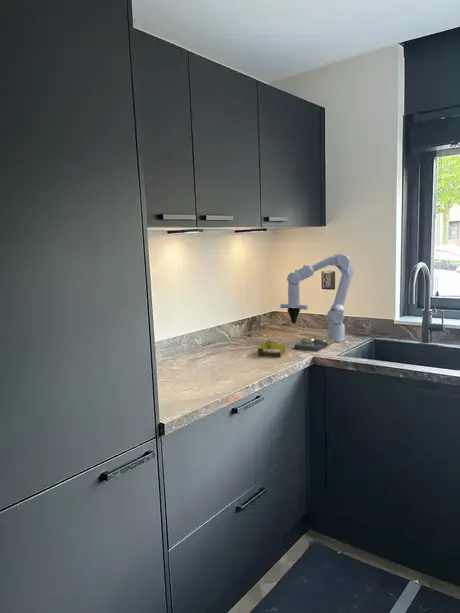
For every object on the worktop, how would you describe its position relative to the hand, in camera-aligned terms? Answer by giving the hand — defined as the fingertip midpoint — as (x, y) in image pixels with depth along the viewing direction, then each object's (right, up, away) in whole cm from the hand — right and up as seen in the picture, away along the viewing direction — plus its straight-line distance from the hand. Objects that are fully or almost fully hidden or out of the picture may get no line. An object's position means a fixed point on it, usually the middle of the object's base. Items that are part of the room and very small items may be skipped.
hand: (293, 322), depth 233 cm
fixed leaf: (+7, -12, -14) cm, 19 cm away
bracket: (-13, -14, -22) cm, 29 cm away
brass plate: (+11, -10, -6) cm, 16 cm away
